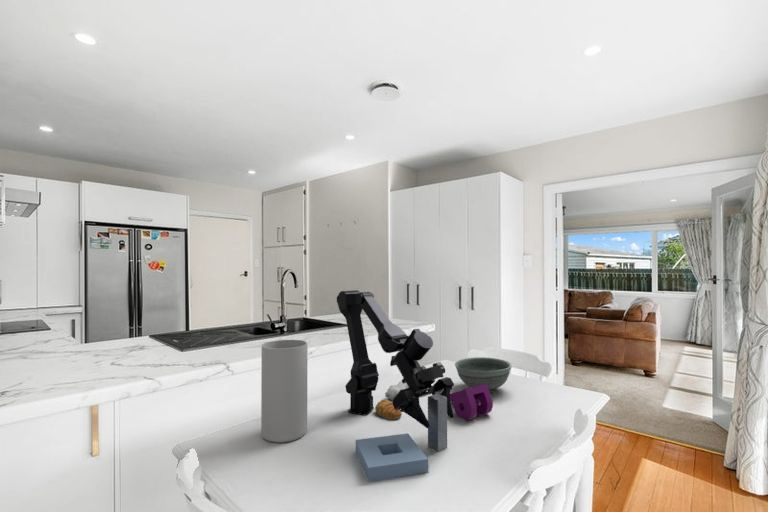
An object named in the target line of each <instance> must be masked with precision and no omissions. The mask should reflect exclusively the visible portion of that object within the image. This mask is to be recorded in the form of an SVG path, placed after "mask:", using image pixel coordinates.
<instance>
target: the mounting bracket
mask: <svg viewBox="0 0 768 512" xmlns="http://www.w3.org/2000/svg"><path fill="white" fill-rule="evenodd" d="M450 401H451V405H452V409H454V410H453V412H454V413H455V414H456V416H457V417H458V418H459V419H462V420H463V421H468V420H471V419H474V418H476V416H477V415H480V416H485V415H488V414H489V413H491V412H492V410H493V408H494V407H493V406H494V404H493V403H494V401H493V399H492V395H491V392H489V389H488V386H487V384H484V385H480V386H476V387H472V388H471V387H469V388H465V389H462V390H458V391H455V392H452V393H451V392H450Z"/></svg>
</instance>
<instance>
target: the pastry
mask: <svg viewBox="0 0 768 512" xmlns="http://www.w3.org/2000/svg"><path fill="white" fill-rule="evenodd" d="M374 410H375V412H376V414H377V415H378V416H379V417H381V418H384V419H387V420H396V419H399V418H401V417H402V415H403V412H401V411H400V410H401V409H400V410H395V408H394V406H393V400H391V401H389V400H388V399H381V400H380V401H378V402H377V403H376V405H375V407H374Z"/></svg>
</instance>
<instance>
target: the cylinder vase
mask: <svg viewBox="0 0 768 512" xmlns="http://www.w3.org/2000/svg"><path fill="white" fill-rule="evenodd" d="M260 384H261V387H260V388H261V392H260V393H261V395H260V396H261V398H260V399H261V400H260V401H261V402H260V404H261V405H260V406H261V414H260V417H261V418H260V423H261V424H260V425H261V426H260V427H261V429H260V432H261V433H260V434H261V436H262V438H263V439H264V440H265V441H267V442H270V443H271V442H272V443H278V444H280V443H288V442H293V441H296V440H298V439H300V438H302V437H304V436H305V435H306V433H307V432H308V342H307V341H305V340H302V339H279V340H278V339H277V340H272V341H271V340H270V341H267V342H264V343H262V344H261V383H260Z"/></svg>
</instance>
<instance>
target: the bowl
mask: <svg viewBox="0 0 768 512" xmlns="http://www.w3.org/2000/svg"><path fill="white" fill-rule="evenodd" d="M454 366H455V368H456V371H457V375H458V377H459V379H460V380H461V381H462V382H463V384H464V385H466V386H468V387H469V388H472V387H476V386H480V385H484V384H487V386H488V389H489V392H490V393H493V392H496V391H497V389H498V388H501V387H502V386H503V385H505V383H506V382H507V380H508V378H509V376H510V371H511V368H512V363H511V362H510V361H508V360H506V359H500V358H496V357H495V358H494V357H482V356H481V357H479V356H478V357H466V358H463V359H459V360H456V362H455V363H454Z"/></svg>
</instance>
